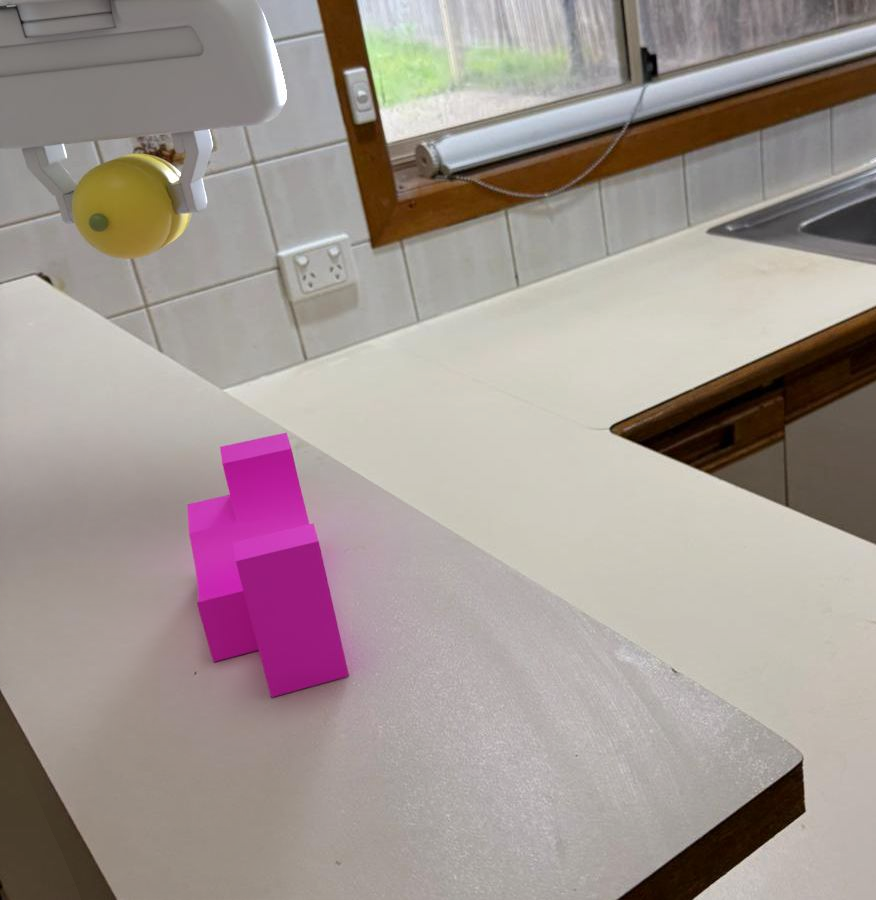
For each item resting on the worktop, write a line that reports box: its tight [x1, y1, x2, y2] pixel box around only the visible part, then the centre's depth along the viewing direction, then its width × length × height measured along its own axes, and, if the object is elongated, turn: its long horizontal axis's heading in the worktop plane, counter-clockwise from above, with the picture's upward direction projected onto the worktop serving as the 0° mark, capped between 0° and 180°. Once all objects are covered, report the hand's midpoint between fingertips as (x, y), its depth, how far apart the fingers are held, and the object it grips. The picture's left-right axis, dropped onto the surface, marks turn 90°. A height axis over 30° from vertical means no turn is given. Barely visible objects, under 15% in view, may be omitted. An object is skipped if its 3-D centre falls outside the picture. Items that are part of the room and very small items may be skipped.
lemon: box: [72, 153, 193, 260], centre depth 67 cm, size 10×6×6 cm, turn 175°
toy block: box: [186, 432, 350, 698], centre depth 60 cm, size 15×6×8 cm, turn 20°
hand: (137, 216), depth 68 cm, fingers closed on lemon, 5 cm apart
